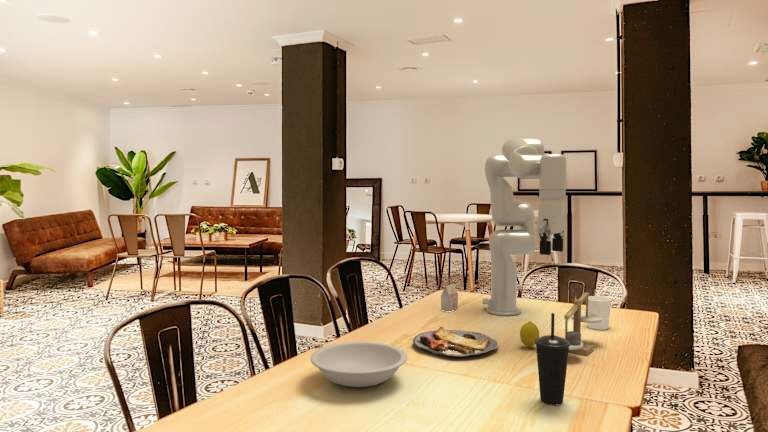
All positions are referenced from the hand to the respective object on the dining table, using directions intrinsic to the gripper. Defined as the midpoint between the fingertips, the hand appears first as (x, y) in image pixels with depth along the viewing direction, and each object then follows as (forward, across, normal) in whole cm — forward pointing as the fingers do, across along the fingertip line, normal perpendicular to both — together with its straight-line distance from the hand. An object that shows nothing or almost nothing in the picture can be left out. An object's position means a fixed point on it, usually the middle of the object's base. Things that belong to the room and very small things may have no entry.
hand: (551, 252), depth 159 cm
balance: (+28, 0, +8) cm, 29 cm away
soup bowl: (+29, +58, -26) cm, 70 cm away
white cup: (+28, -30, +5) cm, 42 cm away
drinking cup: (+28, +40, +16) cm, 52 cm away
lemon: (+28, +6, -4) cm, 29 cm away
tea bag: (+29, -20, -48) cm, 59 cm away
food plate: (+29, +19, -22) cm, 41 cm away
